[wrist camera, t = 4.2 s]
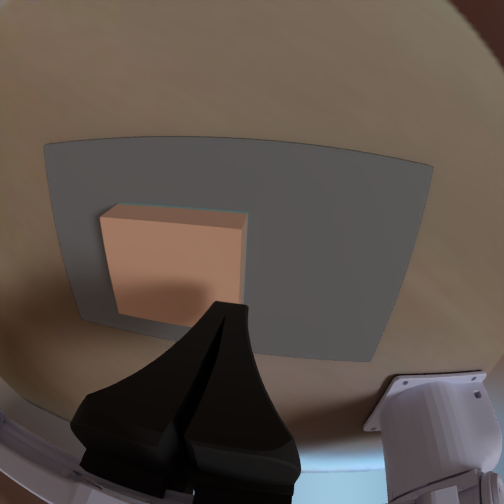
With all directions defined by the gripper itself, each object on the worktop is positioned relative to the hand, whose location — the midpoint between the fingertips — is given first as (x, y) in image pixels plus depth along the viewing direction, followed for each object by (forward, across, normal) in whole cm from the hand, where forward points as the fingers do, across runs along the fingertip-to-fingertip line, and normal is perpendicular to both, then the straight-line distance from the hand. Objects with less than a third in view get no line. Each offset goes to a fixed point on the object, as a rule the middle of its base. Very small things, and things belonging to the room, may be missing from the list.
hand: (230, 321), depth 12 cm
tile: (+3, 0, 0) cm, 3 cm away
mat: (+5, +2, 0) cm, 5 cm away
